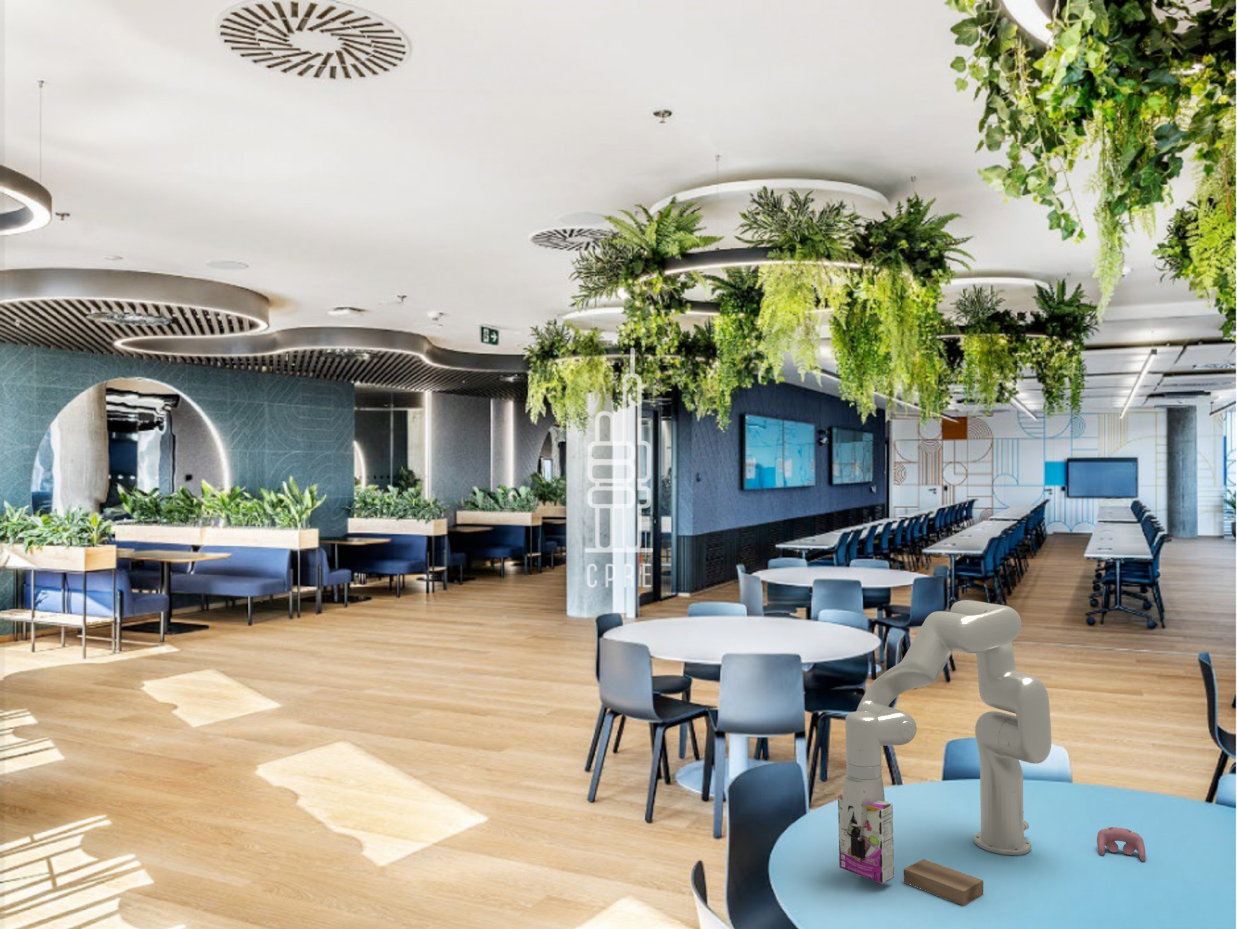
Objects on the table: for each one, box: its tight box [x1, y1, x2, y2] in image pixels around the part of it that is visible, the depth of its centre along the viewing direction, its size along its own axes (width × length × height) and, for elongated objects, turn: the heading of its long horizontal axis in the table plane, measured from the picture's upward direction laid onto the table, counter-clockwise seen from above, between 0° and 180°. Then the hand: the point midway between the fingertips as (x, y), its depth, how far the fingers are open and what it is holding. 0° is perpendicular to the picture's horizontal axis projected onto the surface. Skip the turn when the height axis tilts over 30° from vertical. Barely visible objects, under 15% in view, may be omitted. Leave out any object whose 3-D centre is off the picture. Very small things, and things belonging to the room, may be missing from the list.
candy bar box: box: [837, 793, 895, 885], centre depth 196 cm, size 11×5×16 cm, turn 41°
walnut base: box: [903, 858, 984, 907], centre depth 192 cm, size 8×14×3 cm, turn 40°
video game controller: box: [1096, 826, 1146, 862], centre depth 210 cm, size 10×5×7 cm, turn 66°
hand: (865, 852), depth 196 cm, fingers closed on candy bar box, 5 cm apart
